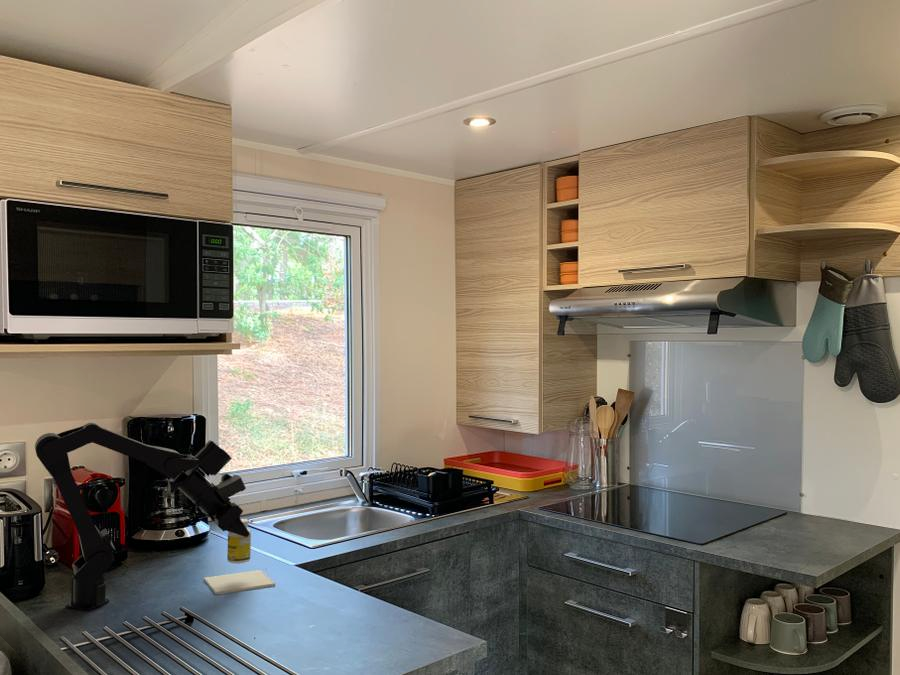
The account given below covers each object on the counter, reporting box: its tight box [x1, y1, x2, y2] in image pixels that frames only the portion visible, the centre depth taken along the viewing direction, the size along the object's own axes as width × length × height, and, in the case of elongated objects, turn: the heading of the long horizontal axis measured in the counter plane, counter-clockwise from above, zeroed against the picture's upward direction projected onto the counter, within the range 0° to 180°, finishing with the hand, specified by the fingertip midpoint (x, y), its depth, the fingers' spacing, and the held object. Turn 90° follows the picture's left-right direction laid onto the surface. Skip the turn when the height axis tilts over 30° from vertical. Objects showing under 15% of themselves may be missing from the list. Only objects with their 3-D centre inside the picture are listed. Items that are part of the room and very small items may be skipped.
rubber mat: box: [203, 569, 276, 595], centre depth 184 cm, size 14×12×1 cm
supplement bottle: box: [226, 518, 252, 565], centre depth 184 cm, size 5×5×10 cm
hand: (245, 532), depth 185 cm, fingers closed on supplement bottle, 5 cm apart
